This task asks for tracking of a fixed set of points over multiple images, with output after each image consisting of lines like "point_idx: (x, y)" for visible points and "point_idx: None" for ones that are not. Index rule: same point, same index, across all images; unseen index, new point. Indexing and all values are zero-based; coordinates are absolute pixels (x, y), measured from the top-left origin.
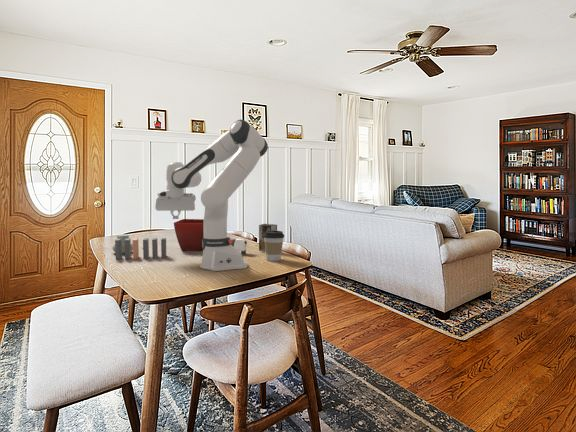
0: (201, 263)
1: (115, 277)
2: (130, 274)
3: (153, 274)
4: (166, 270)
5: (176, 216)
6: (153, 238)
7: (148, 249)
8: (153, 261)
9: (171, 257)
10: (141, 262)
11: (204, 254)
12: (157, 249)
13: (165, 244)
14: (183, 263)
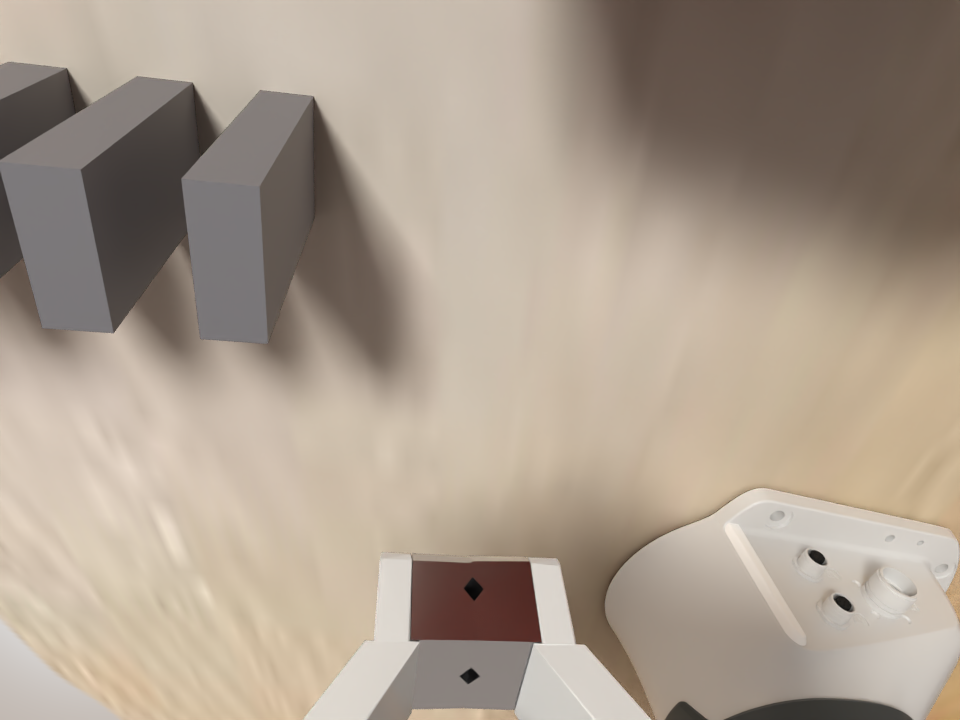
0: (618, 623)
1: (75, 685)
2: (146, 653)
3: (296, 670)
4: (369, 616)
5: (491, 690)
6: (23, 220)
7: (19, 124)
8: (210, 358)
9: (386, 213)
10: (94, 372)
11: (652, 711)
12: (161, 122)
13: (284, 257)
14: (499, 478)
